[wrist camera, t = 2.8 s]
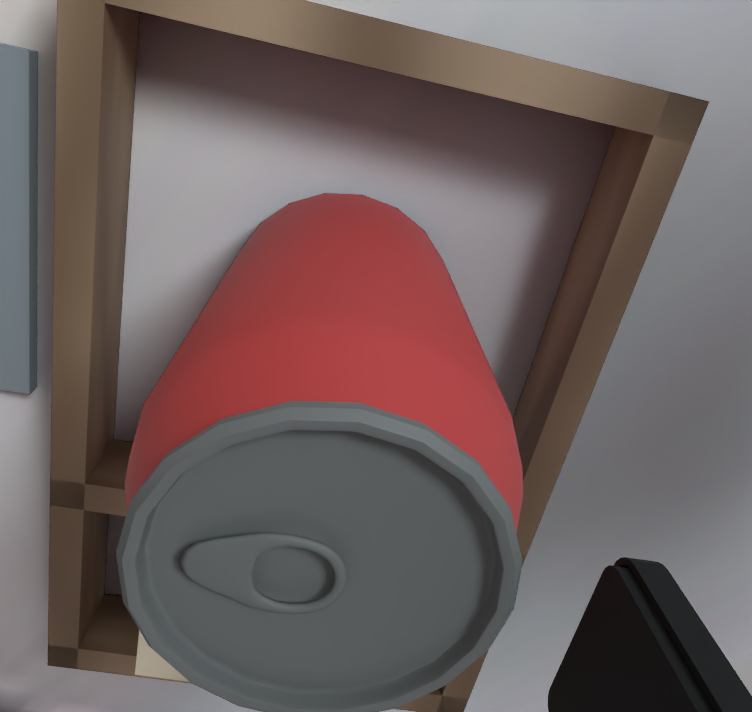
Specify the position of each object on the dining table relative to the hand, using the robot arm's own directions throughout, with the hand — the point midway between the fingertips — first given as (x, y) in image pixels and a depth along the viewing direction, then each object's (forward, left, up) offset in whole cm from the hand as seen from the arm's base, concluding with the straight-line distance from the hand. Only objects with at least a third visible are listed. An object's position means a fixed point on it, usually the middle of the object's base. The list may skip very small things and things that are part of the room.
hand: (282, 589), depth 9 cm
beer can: (-1, 0, -12) cm, 12 cm away
